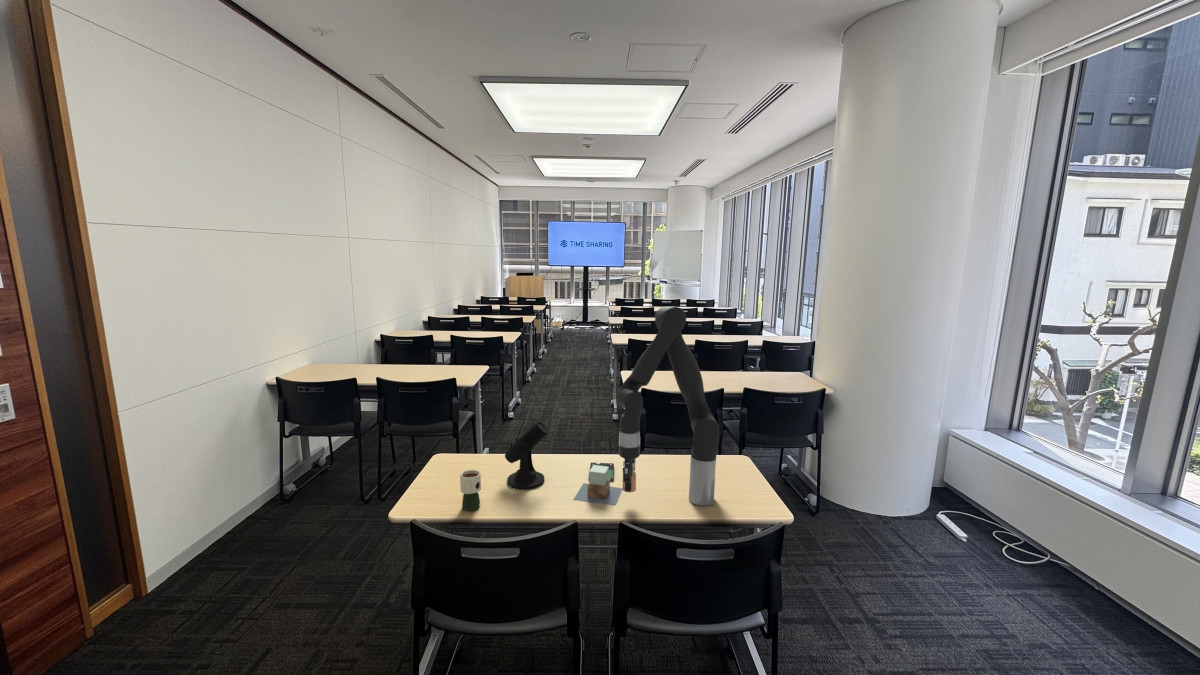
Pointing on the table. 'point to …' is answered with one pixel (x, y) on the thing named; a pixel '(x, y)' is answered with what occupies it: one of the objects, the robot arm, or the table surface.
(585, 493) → the slate mat
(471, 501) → the character mug
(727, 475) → the table surface
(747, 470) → the table surface
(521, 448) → the microphone
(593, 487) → the walnut block
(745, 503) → the table surface
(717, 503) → the table surface
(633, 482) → the terracotta cylinder
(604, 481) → the sage block
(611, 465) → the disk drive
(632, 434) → the robot arm
